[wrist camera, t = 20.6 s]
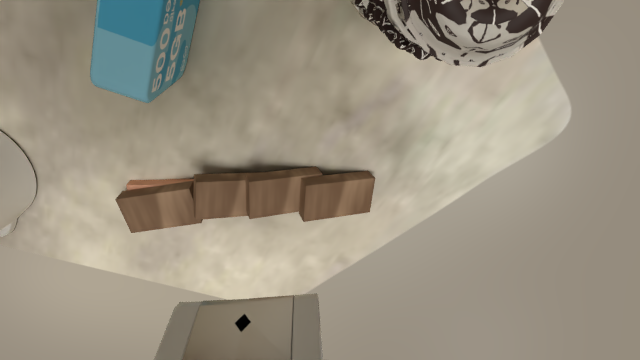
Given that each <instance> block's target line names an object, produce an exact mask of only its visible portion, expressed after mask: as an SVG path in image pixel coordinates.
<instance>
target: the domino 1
mask: <svg viewBox="0 0 640 360" xmlns="http://www.w3.org/2000/svg"><path fill="white" fill-rule="evenodd" d="M188 181H194V179H170V180H130V181H129V183H128V184H127V185H126V186H127V190H133V189H140V188H147V187H154V186H161V185H167V184H174V183H181V182H188Z"/></svg>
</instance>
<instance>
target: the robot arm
mask: <svg viewBox="0 0 640 360" xmlns="http://www.w3.org/2000/svg"><path fill="white" fill-rule="evenodd" d="M36 186H37V185H36V177H35V174H34V171H33V168H32V166H31V164H30V162H29V160H28V159H27V157H26V156H25V154H24V153H23V151H22V150H21V149H20V148H19V147H18V146H17V145H16V144H15V143H14V142H13V141H12V140H11V139H10V138H9V137H8V136H6V135H5V134H4V133H2V132H1V131H0V236H6V235H8V234H9V233H11V232H12V231H13V230H14V228H15V226H16V222H17V218H18V217H19V216H20V214H22V213H23V212H24V211H25V210H26V209H27V208H28V207H29V206H30V205H31V204H32V202H33V200H34V198H35V194H36ZM154 360H323V355H322V342H321V328H320V314H319V301H318V294H303V295H295V296H294V295H291V296H278V297H264V298H251V299H237V300H213V301H201V302H180V303H179V304H178V305H177V306H176V307H175V308H174V310H173V313H172V316H171V318H170V320H169V323H168V326H167V328H166V331H165V333H164V336H163V338H162V340H161V343H160V346H159V348H158V351H157V353H156V356H155V358H154Z"/></svg>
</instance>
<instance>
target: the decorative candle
mask: <svg viewBox="0 0 640 360" xmlns="http://www.w3.org/2000/svg"><path fill="white" fill-rule="evenodd" d="M563 1H564V0H351V3H352V4H353V5H354V6H355V8H356V9H357V10H358V12H359V14H360V15H361V16H362V17H363V18H366V19H367V20H369V21H370V22H372V23H373V24H374V25H377V26H378V27H379V29H380V31H381V32H383V33H385V35H386V36H387V37H388V39H389V40H390V42H392V43H395V46H396V47H397V48H399V49H402V50H406V51H407V52H409V53H412V54H413V55H414V56H415V57H416V58H418V59H420V60H424V59H427V58H429V57H430V56H433V57H434V58H435V59H437V60H439V61H444V62H446V63H447V64H449V65H458V66H473V67H482V66H485V65H488V64H491V63H494V62H497V61H500V60H503V59H506V58H509V57H512V56H513V55H514V54H516V53H517V52H518V51H520V50H521V49H522V48H524V47H525V46H526V45H527V44H529V43H530V42H531V41H533V40H534V39H535V38H537V37H538V36H539V35H540V34H541V33H542V32H543V30H544V29H545V27H546V26H547V25H548V23H549V22H550V20H551V19H552V18H553V16H554V15H555V13H556V12H557V11H558V9H559V8H560V6H561V5H562V4H563Z"/></svg>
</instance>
